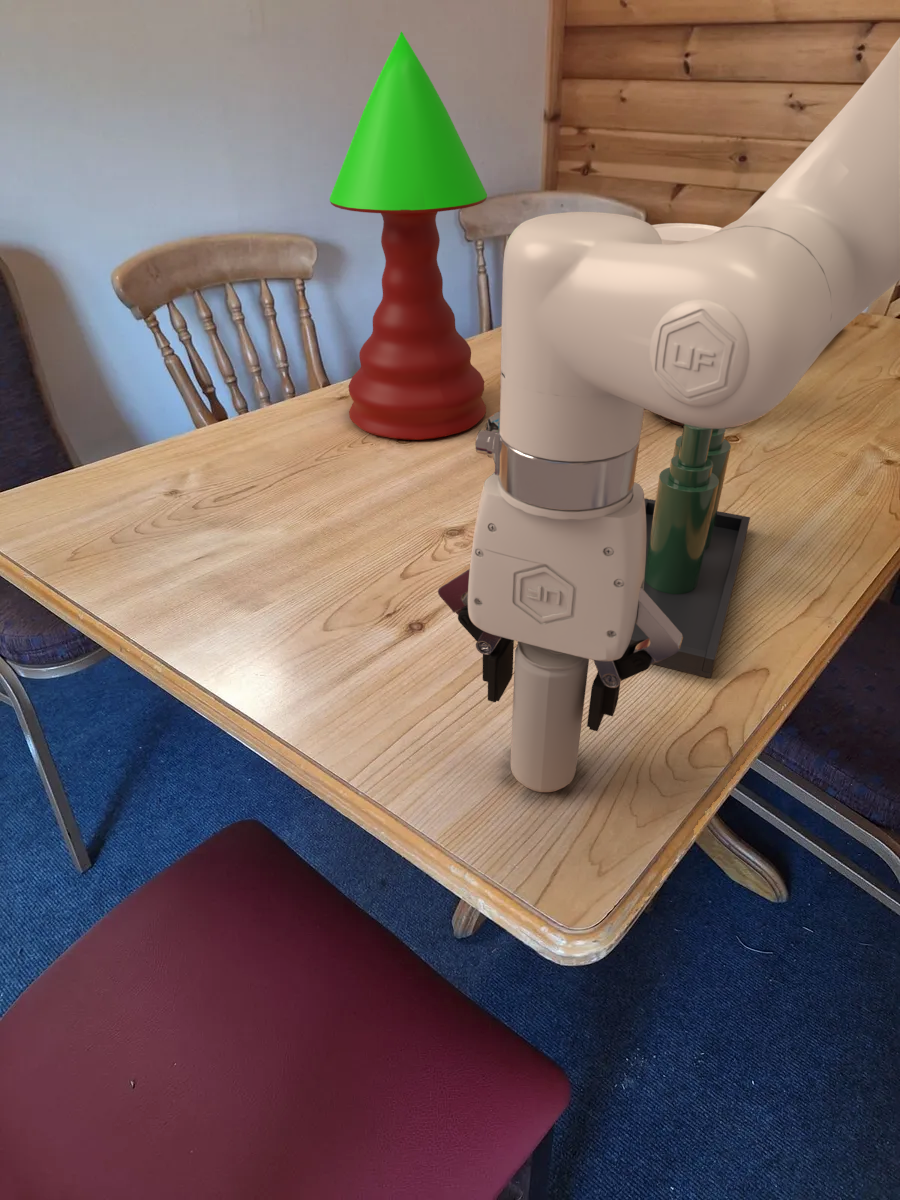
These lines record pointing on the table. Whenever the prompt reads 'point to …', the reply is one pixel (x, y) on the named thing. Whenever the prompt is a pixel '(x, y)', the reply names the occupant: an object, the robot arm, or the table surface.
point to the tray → (701, 596)
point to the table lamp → (411, 257)
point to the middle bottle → (682, 516)
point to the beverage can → (546, 716)
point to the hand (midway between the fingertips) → (548, 701)
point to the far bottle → (714, 467)
